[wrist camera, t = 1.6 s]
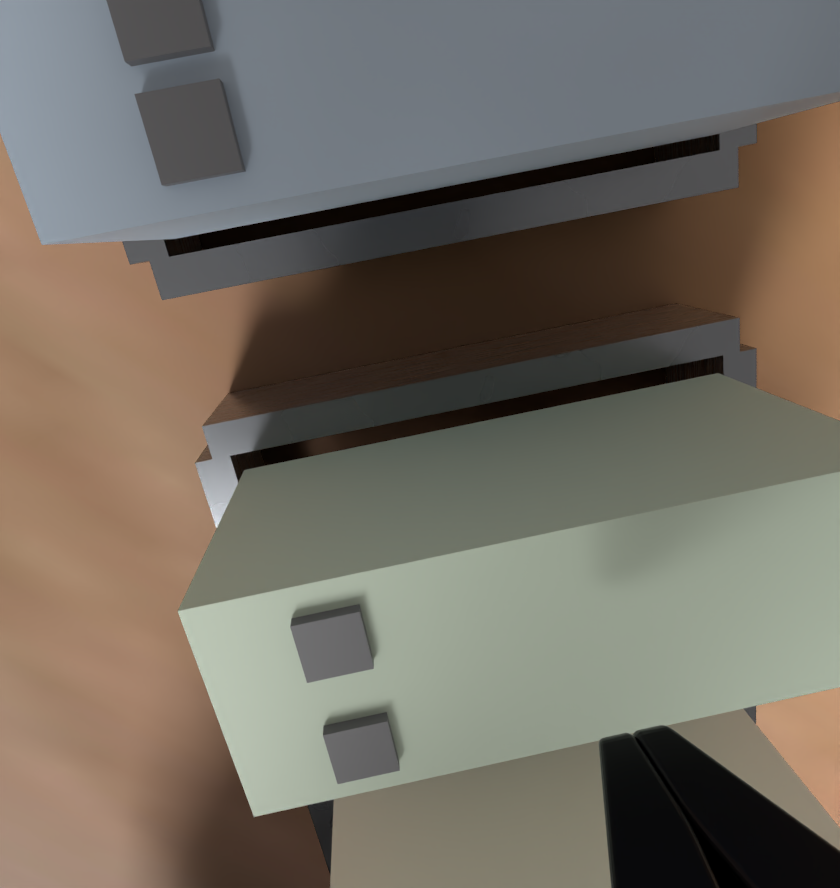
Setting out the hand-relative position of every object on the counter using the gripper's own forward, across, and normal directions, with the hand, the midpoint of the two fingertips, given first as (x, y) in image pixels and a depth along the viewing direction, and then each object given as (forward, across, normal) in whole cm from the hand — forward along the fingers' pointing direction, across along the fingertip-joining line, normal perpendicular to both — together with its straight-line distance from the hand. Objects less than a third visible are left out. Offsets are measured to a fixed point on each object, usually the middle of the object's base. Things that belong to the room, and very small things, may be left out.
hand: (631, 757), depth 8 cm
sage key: (+8, 0, 0) cm, 8 cm away
